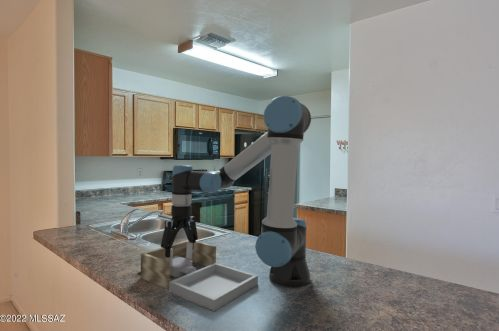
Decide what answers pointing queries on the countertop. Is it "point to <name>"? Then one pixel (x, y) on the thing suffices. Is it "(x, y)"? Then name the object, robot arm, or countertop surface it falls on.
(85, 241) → the countertop surface
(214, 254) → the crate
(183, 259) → the charger
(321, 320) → the countertop surface
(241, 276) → the tray
